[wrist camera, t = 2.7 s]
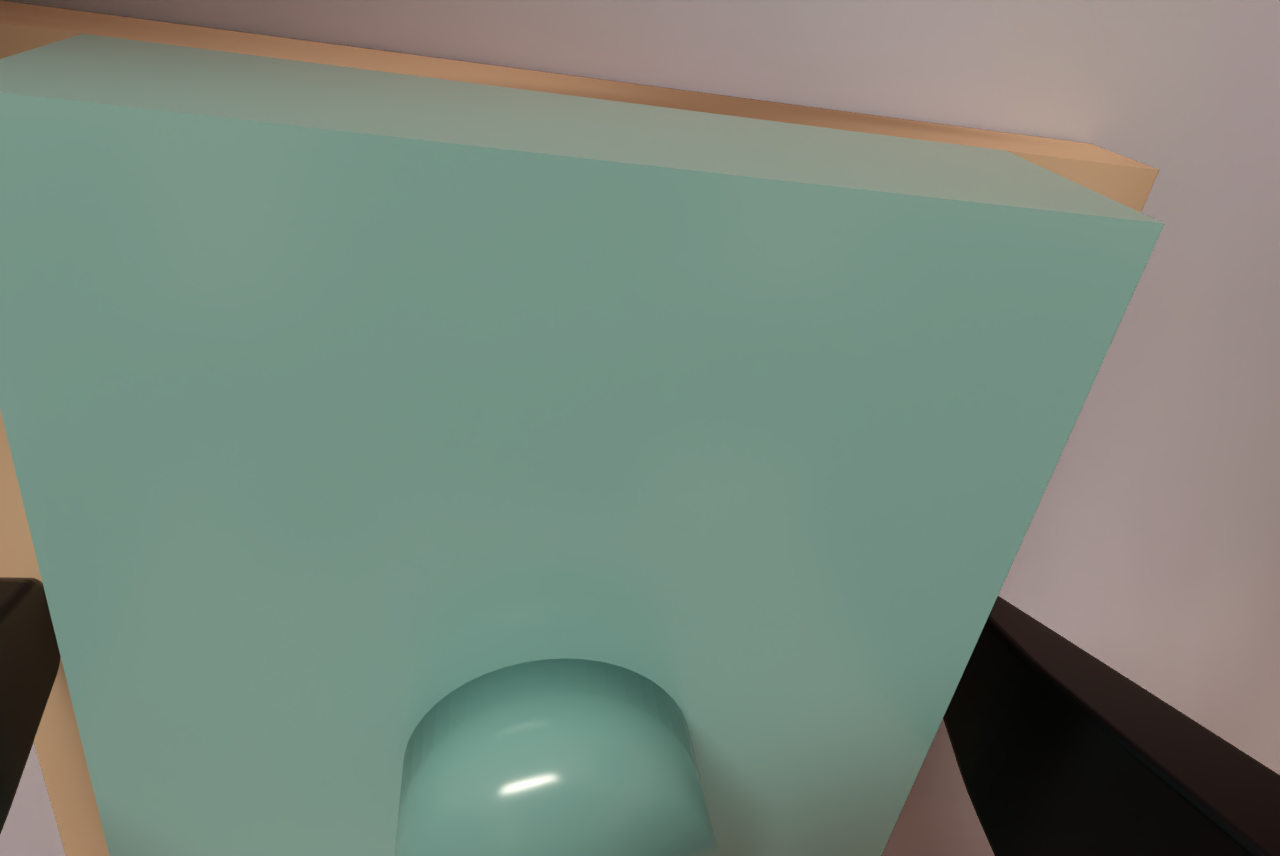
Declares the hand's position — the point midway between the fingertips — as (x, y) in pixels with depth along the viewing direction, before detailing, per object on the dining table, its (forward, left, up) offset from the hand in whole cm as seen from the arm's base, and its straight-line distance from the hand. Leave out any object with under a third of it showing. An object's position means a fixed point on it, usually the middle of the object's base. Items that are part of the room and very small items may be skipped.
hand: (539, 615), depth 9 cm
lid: (0, 0, 0) cm, 0 cm away
